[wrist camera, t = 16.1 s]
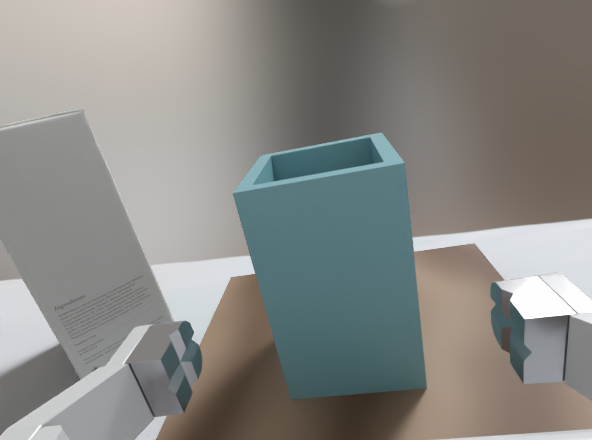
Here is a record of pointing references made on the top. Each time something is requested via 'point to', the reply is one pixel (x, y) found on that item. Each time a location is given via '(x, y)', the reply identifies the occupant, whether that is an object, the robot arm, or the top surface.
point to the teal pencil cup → (336, 266)
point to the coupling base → (381, 405)
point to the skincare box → (74, 238)
